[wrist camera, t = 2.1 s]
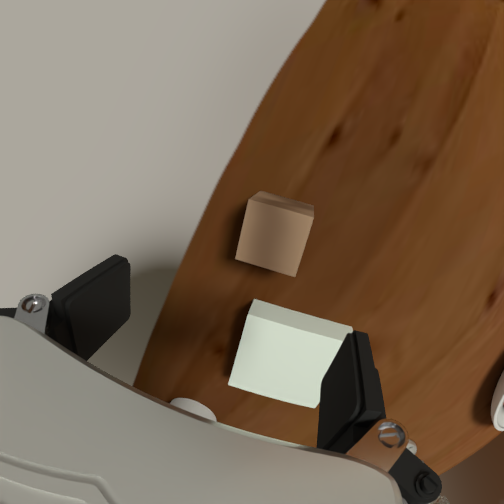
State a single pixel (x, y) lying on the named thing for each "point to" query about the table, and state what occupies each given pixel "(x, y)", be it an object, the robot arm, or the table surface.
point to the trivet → (285, 353)
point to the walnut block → (274, 232)
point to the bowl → (498, 405)
